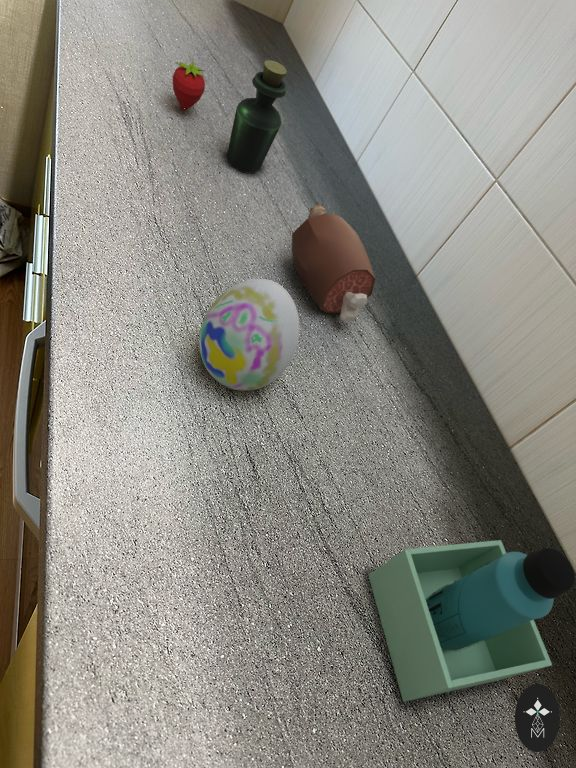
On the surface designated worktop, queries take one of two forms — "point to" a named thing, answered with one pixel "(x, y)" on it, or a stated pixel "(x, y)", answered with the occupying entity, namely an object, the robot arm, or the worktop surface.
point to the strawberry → (188, 85)
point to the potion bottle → (257, 120)
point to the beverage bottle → (499, 597)
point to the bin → (417, 633)
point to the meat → (332, 264)
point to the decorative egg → (250, 335)
